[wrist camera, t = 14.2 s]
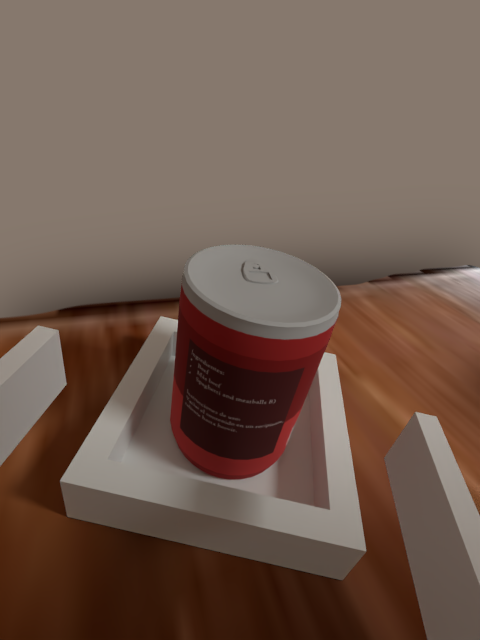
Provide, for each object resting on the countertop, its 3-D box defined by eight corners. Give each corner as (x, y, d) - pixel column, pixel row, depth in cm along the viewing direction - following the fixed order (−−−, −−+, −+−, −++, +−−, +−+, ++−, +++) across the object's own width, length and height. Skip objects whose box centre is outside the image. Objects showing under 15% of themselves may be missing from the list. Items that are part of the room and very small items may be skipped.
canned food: (250, 373, 27) (284, 241, 21) (310, 459, 22) (380, 313, 15) (153, 395, 24) (160, 244, 17) (195, 506, 18) (226, 340, 12)
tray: (323, 384, 29) (335, 354, 27) (342, 580, 17) (366, 551, 15) (159, 347, 29) (160, 316, 27) (67, 516, 17) (59, 480, 16)
